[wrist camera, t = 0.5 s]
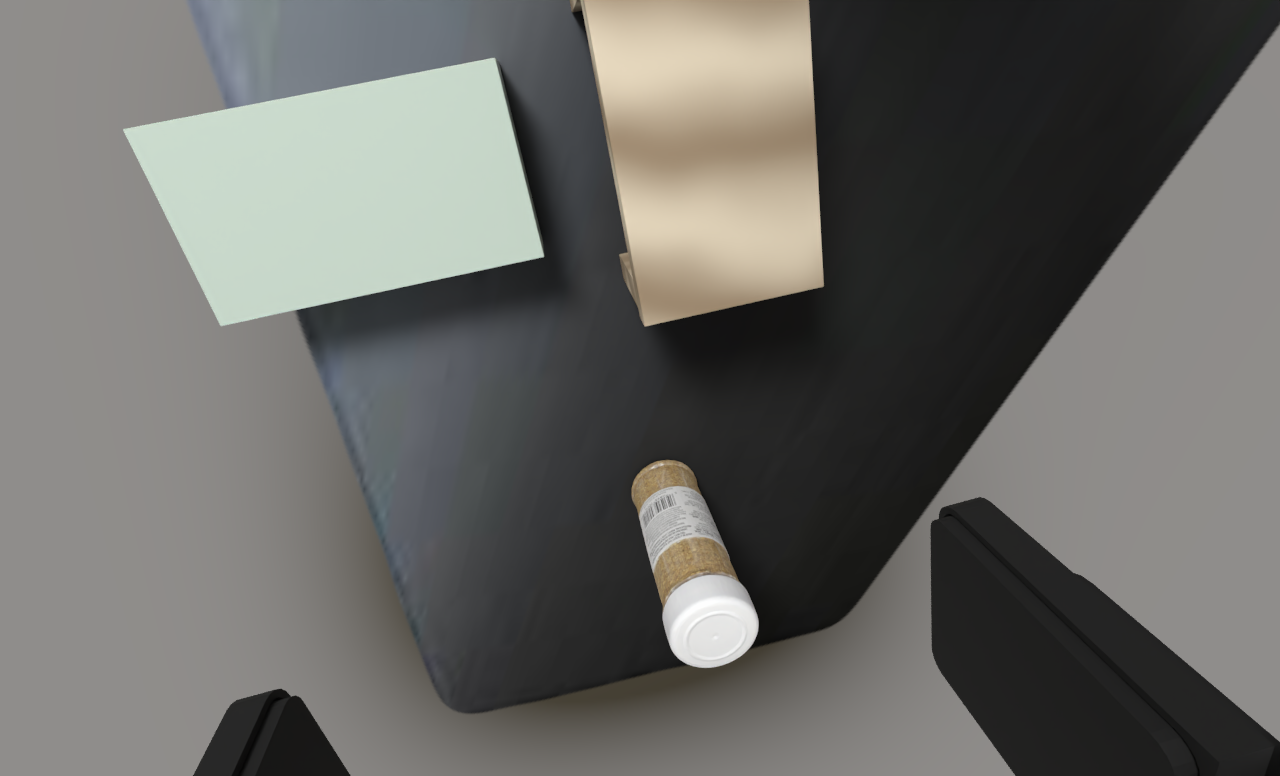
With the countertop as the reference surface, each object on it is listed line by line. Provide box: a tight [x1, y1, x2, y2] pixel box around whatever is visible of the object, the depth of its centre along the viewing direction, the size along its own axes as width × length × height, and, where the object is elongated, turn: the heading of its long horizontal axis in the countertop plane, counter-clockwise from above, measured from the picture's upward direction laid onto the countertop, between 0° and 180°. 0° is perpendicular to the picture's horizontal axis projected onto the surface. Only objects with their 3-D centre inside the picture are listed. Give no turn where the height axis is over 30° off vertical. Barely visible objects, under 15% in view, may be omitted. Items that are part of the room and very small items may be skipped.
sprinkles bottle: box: [632, 460, 759, 668], centre depth 36 cm, size 5×5×14 cm
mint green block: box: [123, 58, 544, 326], centre depth 31 cm, size 9×16×4 cm, turn 100°
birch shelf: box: [570, 0, 824, 326], centre depth 30 cm, size 16×9×7 cm, turn 10°
